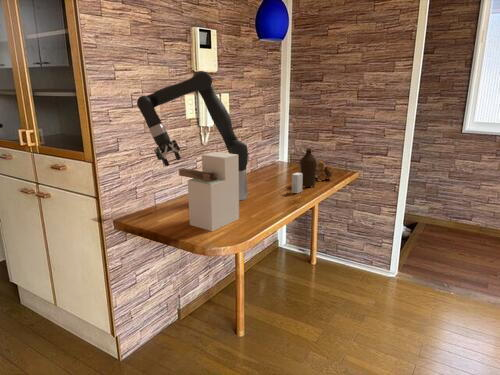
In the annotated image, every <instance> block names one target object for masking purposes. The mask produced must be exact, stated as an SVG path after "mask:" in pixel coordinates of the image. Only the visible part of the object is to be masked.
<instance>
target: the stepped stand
mask: <svg viewBox="0 0 500 375" xmlns="http://www.w3.org/2000/svg"><path fill="white" fill-rule="evenodd" d="M201 167H202V168H201V169H202V170H201V171H202V172H208V173H211V172H214V173H217V180H214V181H210V182H205V181H203V180H200V179H195V178H190V179H188V180H187V193H188V196H187V197H188V214H189V225H190V226H192V227H196V228H200V229H204V230H206V231H210V232H214V231H216V230H218V229H221V228H222V227H225V226H227V225H228V224H230V223H233V222H236V221H238V220H239V219H240V200H239V167H238V155H237V154H229V152H221V151H220V152H219V151H214V152H213V151H212V152H209V153H203V154H201Z"/></svg>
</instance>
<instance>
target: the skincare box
mask: <svg viewBox="0 0 500 375" xmlns="http://www.w3.org/2000/svg"><path fill="white" fill-rule="evenodd" d="M302 181H303V173H300V172H294V173H292V174H291V193H292V192H293V193H299V192H301V191H302V192H303V187H302ZM302 192H301V193H302ZM293 193H292V194H293ZM299 194H300V193H299Z"/></svg>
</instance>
